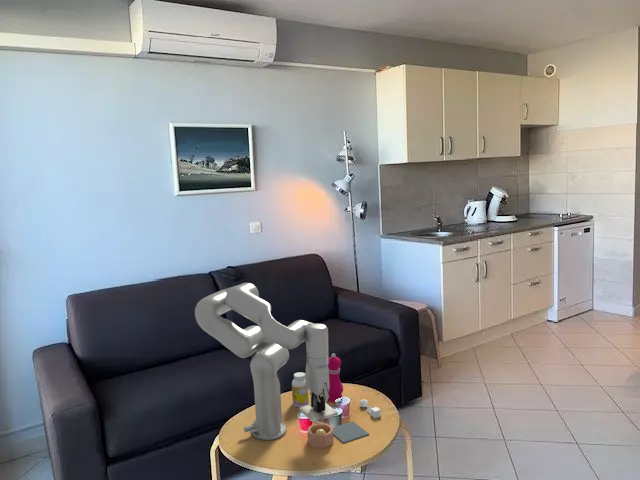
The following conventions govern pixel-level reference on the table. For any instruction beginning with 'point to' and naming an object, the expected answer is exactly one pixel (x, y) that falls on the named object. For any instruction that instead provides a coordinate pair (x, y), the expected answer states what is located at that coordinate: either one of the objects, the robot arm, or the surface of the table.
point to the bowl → (320, 435)
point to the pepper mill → (334, 378)
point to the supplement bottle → (299, 390)
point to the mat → (349, 432)
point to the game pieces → (371, 409)
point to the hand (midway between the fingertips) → (318, 408)
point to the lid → (314, 415)
